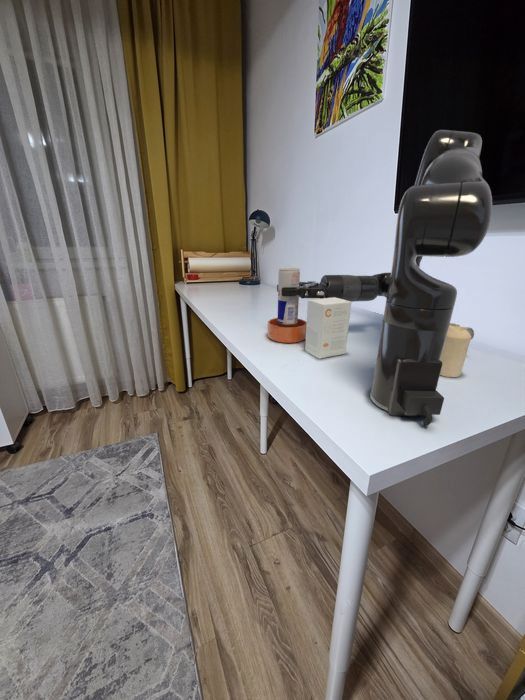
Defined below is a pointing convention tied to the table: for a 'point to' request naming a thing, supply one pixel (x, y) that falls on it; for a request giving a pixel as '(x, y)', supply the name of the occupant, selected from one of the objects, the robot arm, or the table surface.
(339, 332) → the small box
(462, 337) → the candle
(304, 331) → the bowl
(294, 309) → the beverage can
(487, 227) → the robot arm
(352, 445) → the table surface
